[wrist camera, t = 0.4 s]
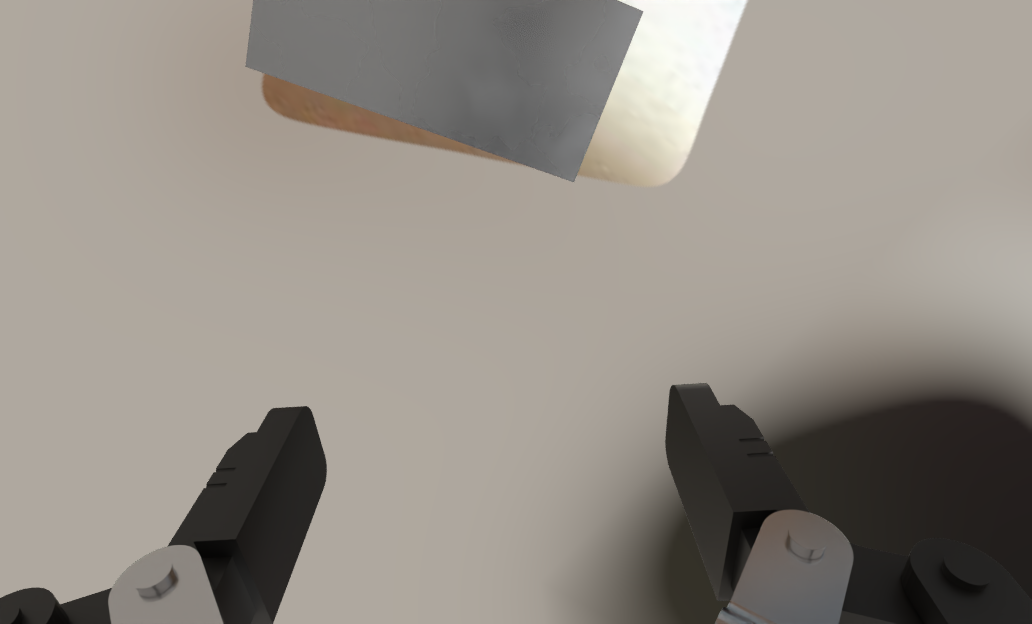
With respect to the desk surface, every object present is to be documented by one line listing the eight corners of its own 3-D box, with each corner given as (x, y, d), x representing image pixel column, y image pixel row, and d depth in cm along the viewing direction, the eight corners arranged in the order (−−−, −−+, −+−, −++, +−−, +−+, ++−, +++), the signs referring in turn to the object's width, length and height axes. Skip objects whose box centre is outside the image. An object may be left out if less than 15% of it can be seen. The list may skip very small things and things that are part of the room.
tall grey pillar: (395, -63, 35) (270, -146, 16) (572, 9, 37) (643, 11, 18) (374, 37, 38) (245, 66, 19) (540, 99, 40) (573, 182, 21)
